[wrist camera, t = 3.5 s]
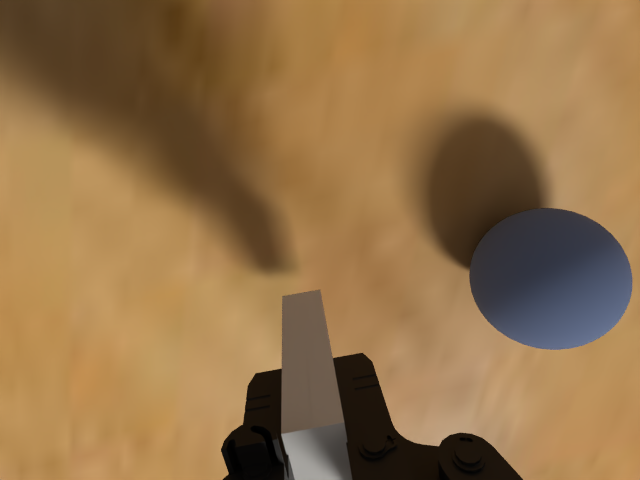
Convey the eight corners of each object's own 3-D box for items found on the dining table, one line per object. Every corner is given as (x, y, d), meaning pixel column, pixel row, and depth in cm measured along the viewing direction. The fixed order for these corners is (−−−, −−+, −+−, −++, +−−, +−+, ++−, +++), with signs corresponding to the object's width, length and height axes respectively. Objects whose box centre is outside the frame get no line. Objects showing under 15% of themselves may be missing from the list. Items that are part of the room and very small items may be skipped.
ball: (430, 230, 17) (491, 291, 12) (546, 169, 17) (661, 206, 12) (472, 320, 19) (540, 404, 14) (577, 268, 19) (687, 337, 14)
